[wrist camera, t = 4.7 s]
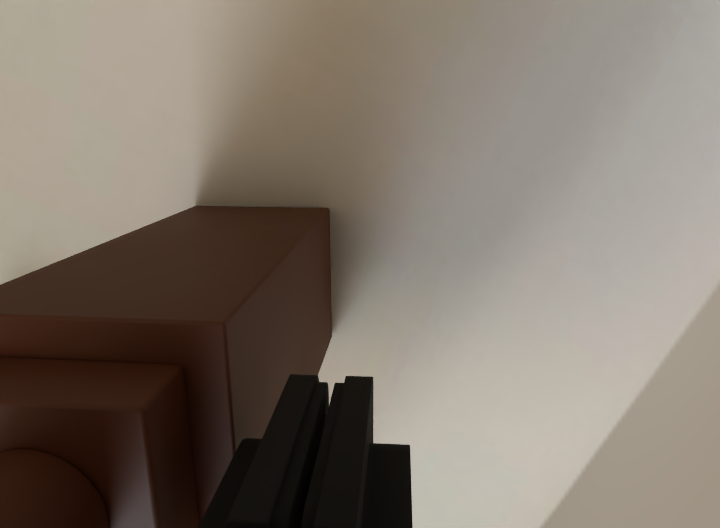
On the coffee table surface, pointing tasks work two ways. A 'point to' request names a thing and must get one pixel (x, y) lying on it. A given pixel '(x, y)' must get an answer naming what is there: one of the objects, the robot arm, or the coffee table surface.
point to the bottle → (155, 363)
